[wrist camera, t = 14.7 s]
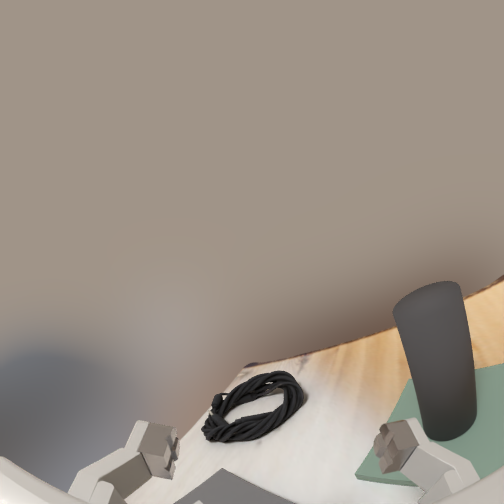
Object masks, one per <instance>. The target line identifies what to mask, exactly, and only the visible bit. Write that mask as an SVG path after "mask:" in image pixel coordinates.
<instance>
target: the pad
mask: <svg viewBox="0 0 504 504" xmlns="http://www.w3.org/2000/svg"><path fill="white" fill-rule="evenodd" d="M475 380H476V396H477V417H476V420H475V422H474V424H473V425H472V426H471V428H470V429H469V430H468V431H467V432H465V433H464V434H463V435H461V436H459V437H458V438H455V439H453V440H449V441H434V440H432V439H430V438H428V437H427V438H428V440H429V441H430V442H435V443H436V444H438V445H440V446H442V447H444V448H446V449H448V450H450V451H451V452H453V453H455V454H457V455H459V456H461V457H463V458H465V459H467V460H469V461H470V462H471V464H472V466H473V467H474V469H475V471H476V472H477V474H478V476H479V478H480V479H482V478H484V477H486V476H487V475H489V474H491V473H492V472H494V471H496V470H497V469H499V468H500V467H502V466H503V465H504V363H503V364H499V365H494V366H490V367H485V368H480V369H475ZM413 417H415V418H416V419H417V420H418V422H419V424H420V425H421V427H422V429H423V424H422V419H421V414H420V409H419V405H418V400H417V396H416V392H415V388H414V384H413V380H412V379H409V380H408V382H407V384H406V386H405V388H404V390H403V392H402V394H401V396H400V399H399V401H398V403H397V404H396V406H395V408H394V410H393V412H392V414H391V416H390V418H389V420H388V421H387V423H390V422H395V421H399V420H405V419H409V418H413ZM423 431H424V429H423ZM379 460H380V458H378V457H377V456H375V453H374V448H373V447H372V449H371V450H370V452H369V453H368V455H367V456H366V458H365V460H364V461H363V463H362V464H361V466H360V467H359V468H358V470H357V471H356V473H355V476H356V478H357V479H360V480H366V481H372V482H379V483H386V484H395V485H405V486H417V485H416V484H415V483H414V482H412V481H411V480H410V479H409V478H407V477H406V476H405V475H404V474H402V473H401V472H400V470H399V471H395V472H391V473H387V474H382V472H381V469H380V467H379V464H378V463H379Z"/></svg>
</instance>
